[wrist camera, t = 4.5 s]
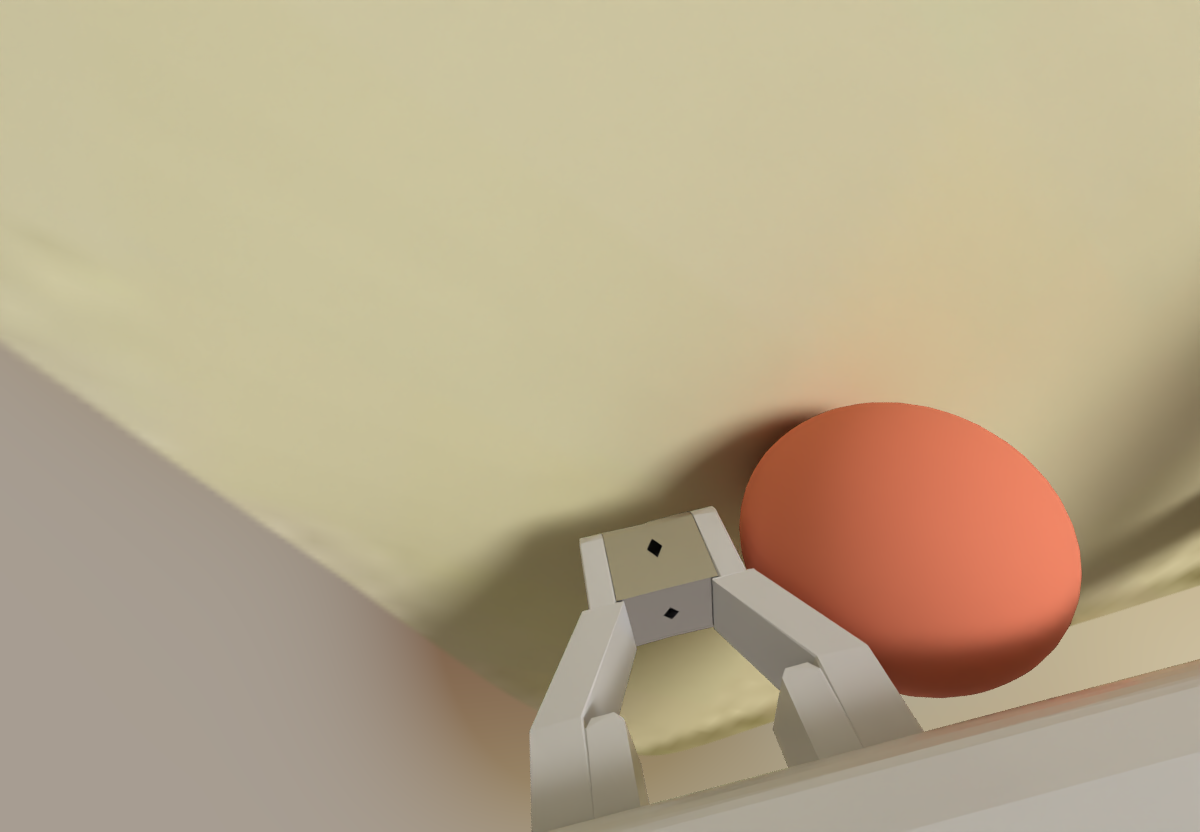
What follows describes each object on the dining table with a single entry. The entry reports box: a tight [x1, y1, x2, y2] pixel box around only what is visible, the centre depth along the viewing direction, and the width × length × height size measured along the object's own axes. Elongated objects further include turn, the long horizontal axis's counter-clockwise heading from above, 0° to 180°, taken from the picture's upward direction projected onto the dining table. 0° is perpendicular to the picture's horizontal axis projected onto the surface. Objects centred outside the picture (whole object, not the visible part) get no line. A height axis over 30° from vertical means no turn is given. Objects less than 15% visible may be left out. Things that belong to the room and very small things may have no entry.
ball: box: [739, 403, 1082, 698], centre depth 9 cm, size 6×6×6 cm
